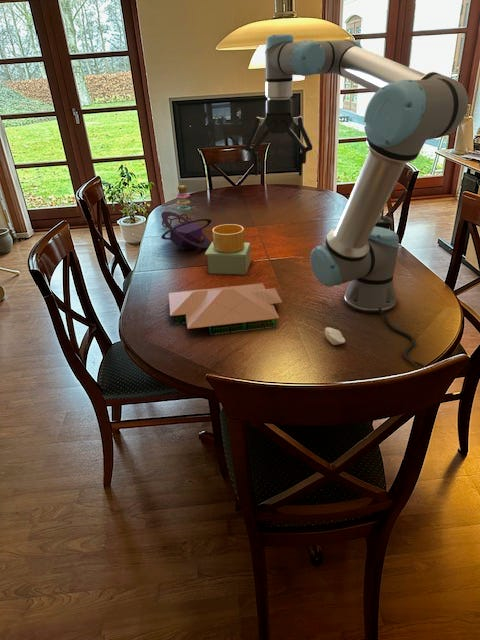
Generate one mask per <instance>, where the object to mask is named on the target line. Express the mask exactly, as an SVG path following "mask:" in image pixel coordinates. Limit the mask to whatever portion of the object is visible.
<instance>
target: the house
mask: <svg viewBox="0 0 480 640" xmlns="http://www.w3.org/2000/svg"><path fill="white" fill-rule="evenodd" d="M168 298H169V299H168V303H169V316H170V317H172V319H173V320H179V319H181V320H182V321H183V319H185V322H184V321H183V324H186V328H187V330H191V329H201V328H208V329H209V334H210V335H212V330H213V331H215V330H216V333H215V335H218V334H219V335H220V334H227V333H229V331H221V330H220V329H218V327H219V326H222V329H228V325H230V326H232V325H233V326H232V328H233V329H235V328H236V330H233V331H232V333H236V332H243V331H244V332H245V331H247V323H248V326H254V327H253V328H251V329H250V328H249V331H252V330H256V328H255V327H256V323H255V322H257V325H261V321H262V322H263V321H265V324H267V323H268V326H266V329H268V328H269V329H270V328H271V326H269V324H271V321H272V324H273V326H274V328H276V327H277V321H276V320H277V319H280V316H279V314H278V313H277V310H276V308H275V305H279V304H283V301H282V299H281V297H280V295H279V293H278V292H277V289H276V288H275V287H274V288H266V287H265V285H264V283H263V282H260V283H259V282H258V283H249V284H241V285H232V286H223V287H222V286H221V287H212V288H203V289H193V290H184V291H183V290H182V291H175V292H174V291H173V292H168ZM177 316H179V318H178V317H177ZM181 316H184V317H181ZM175 317H176V318H175ZM266 321H267V322H266ZM252 323H253V324H252ZM173 324H174V325H177V324H179V322H176V321H173ZM235 324H236V325H235ZM237 324H239V327H243V328H244V329H240V328H238V329H239V330H238V329H237V327H238V325H237ZM226 325H227V326H226ZM217 326H218V327H217ZM223 326H224V327H223ZM211 327H212V328H211ZM214 327H215V328H214ZM260 329H263V327H262V328H261V327H259V328H258V330H260ZM217 330H218V331H219V332H217ZM220 331H221V332H220Z"/></svg>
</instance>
